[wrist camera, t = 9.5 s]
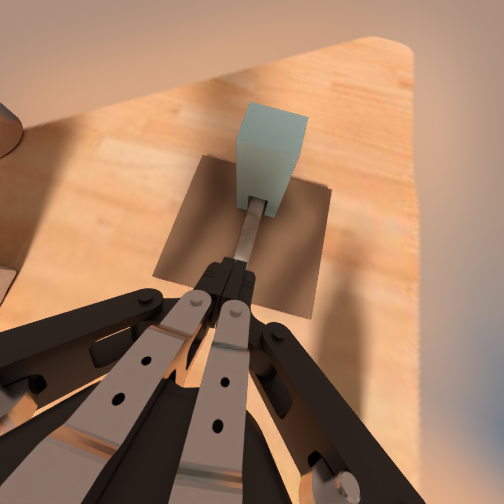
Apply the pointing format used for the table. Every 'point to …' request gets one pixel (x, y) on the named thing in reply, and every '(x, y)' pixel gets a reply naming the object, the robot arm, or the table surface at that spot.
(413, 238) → the table surface
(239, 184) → the tall pale blue block
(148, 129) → the table surface
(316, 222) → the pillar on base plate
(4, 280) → the hard drive box
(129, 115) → the table surface
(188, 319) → the robot arm
